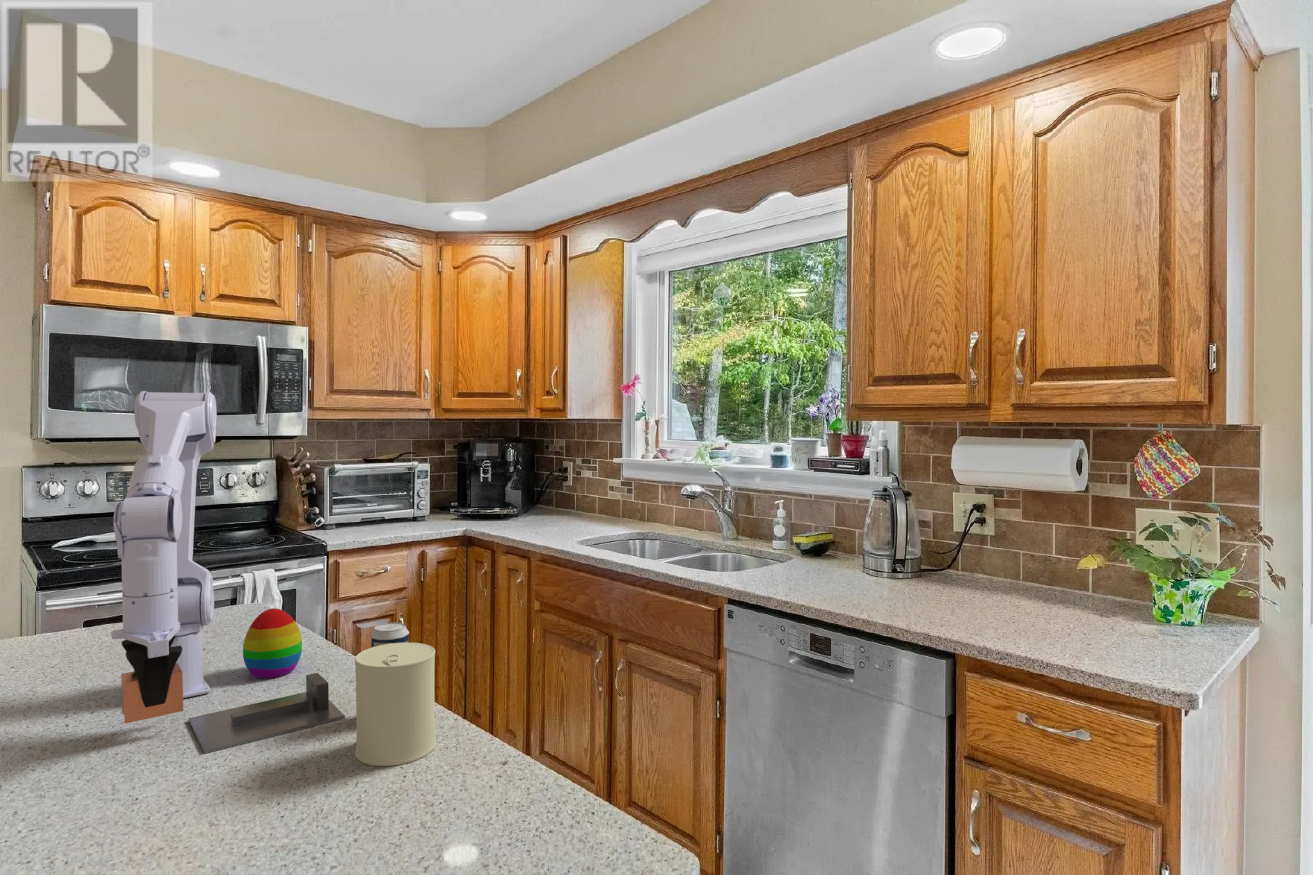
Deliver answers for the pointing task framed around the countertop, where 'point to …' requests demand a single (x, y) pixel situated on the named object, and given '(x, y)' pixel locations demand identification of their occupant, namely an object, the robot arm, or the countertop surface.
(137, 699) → the orange block
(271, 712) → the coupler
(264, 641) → the decorative egg
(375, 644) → the beer can
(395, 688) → the can
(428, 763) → the countertop surface
